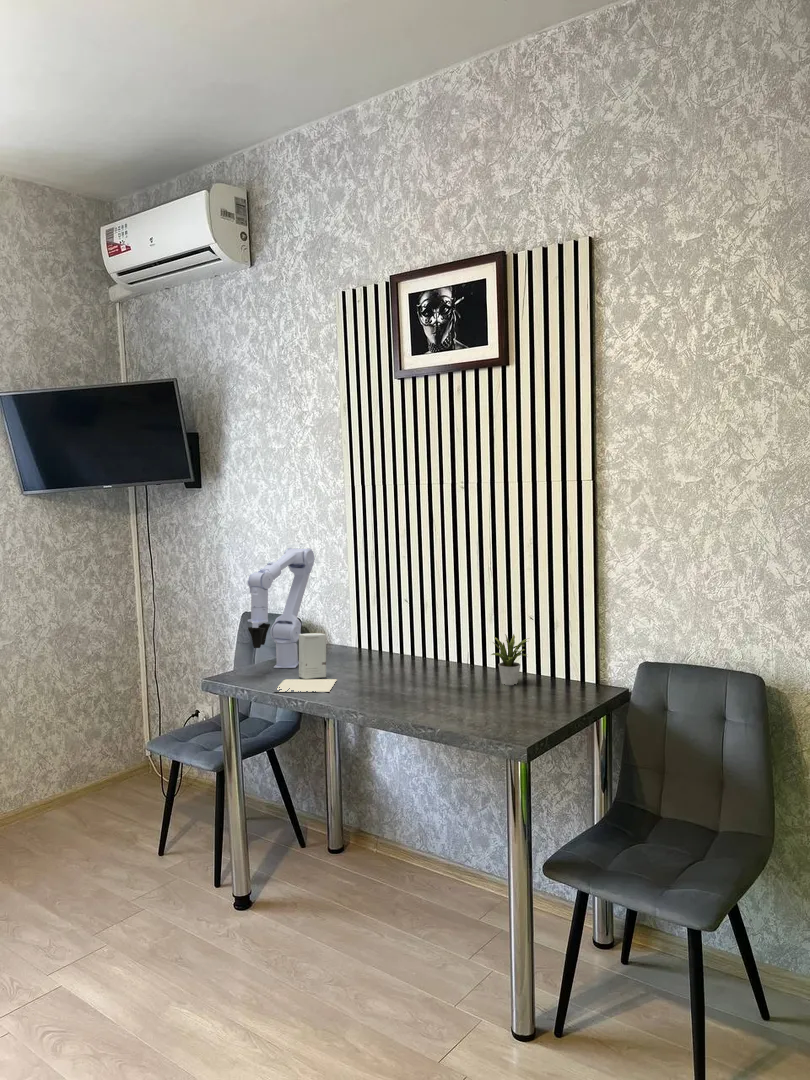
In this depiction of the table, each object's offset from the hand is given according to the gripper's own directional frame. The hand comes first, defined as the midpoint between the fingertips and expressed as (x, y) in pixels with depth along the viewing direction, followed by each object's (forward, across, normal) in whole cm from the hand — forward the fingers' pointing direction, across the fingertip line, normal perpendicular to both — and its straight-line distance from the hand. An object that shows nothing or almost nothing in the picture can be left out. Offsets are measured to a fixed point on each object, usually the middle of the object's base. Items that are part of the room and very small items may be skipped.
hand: (259, 646), depth 275 cm
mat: (+11, +14, +18) cm, 26 cm away
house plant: (+9, +16, +85) cm, 87 cm away
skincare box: (+10, +3, +19) cm, 22 cm away
